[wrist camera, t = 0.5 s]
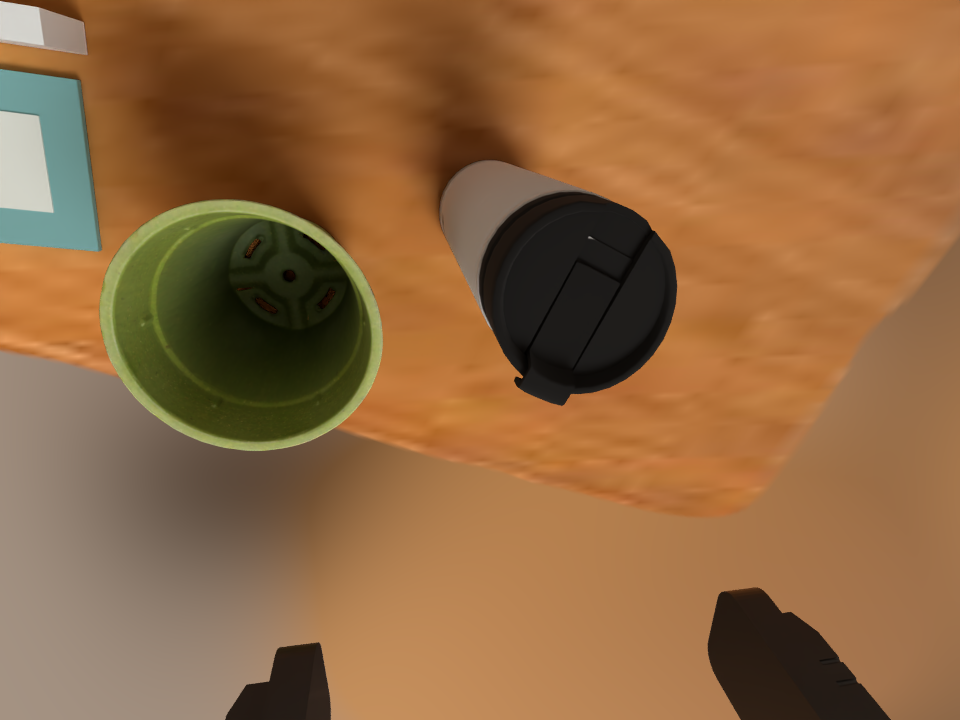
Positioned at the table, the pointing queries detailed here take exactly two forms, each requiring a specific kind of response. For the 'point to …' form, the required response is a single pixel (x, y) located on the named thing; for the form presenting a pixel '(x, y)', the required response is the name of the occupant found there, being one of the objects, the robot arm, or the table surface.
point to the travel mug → (559, 277)
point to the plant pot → (240, 325)
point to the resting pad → (45, 164)
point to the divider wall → (41, 29)
